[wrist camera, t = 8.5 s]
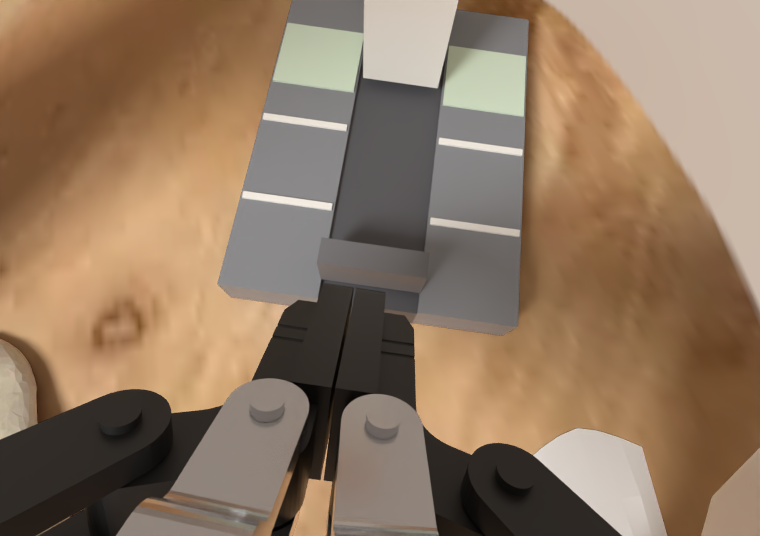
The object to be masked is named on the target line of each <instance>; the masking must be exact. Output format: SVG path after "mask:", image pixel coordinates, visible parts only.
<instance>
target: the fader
mask: <svg viewBox="0 0 760 536" xmlns="http://www.w3.org/2000/svg"><path fill="white" fill-rule="evenodd" d="M457 4H458V0H364V45H363V78H368V79H375V80H382V81H389V82H396V83H403V84H410V85H417V86H424V87H431V88H438V84H439V80H440V76H441V72H442V67H443V63H444V59H445V55H446V51H447V46H448V42H449V38H450V34H451V30H452V25H453V21H454V17H455V13H456V9H457Z"/></svg>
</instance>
